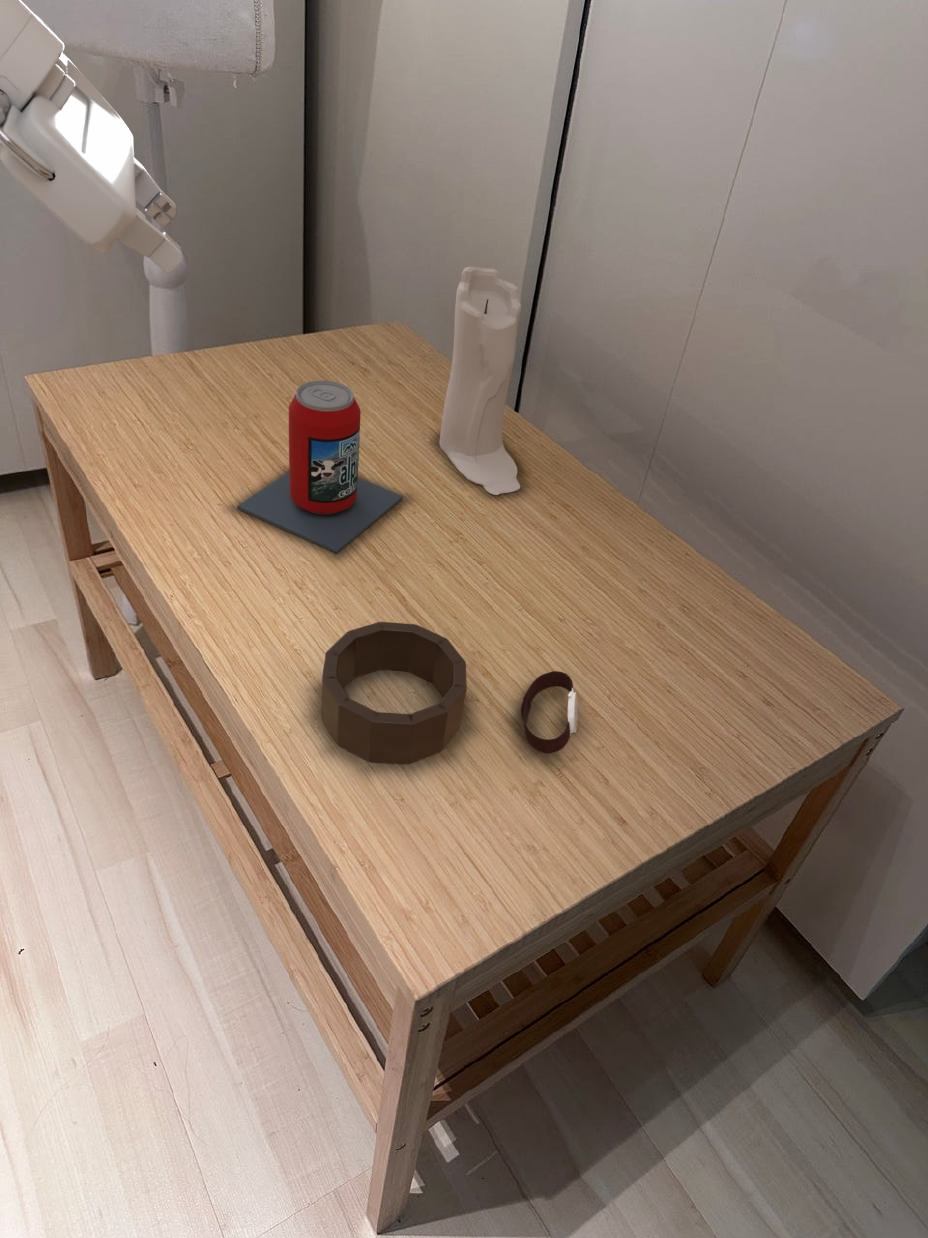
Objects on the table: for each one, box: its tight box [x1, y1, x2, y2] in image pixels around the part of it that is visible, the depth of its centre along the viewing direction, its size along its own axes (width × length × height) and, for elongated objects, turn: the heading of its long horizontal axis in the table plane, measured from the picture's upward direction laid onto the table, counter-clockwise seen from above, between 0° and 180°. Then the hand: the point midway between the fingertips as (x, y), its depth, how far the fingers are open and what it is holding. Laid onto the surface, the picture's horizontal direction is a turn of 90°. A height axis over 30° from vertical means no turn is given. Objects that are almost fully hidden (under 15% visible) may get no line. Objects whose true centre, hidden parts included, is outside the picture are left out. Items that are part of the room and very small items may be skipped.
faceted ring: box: [320, 621, 467, 765], centre depth 67 cm, size 11×11×4 cm
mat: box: [236, 471, 404, 555], centre depth 88 cm, size 12×12×1 cm
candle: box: [439, 266, 522, 496], centre depth 92 cm, size 7×14×20 cm, turn 24°
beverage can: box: [288, 379, 362, 515], centre depth 84 cm, size 7×7×12 cm
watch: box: [520, 670, 579, 754], centre depth 68 cm, size 8×5×4 cm, turn 170°
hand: (174, 239), depth 64 cm, fingers open, 8 cm apart
